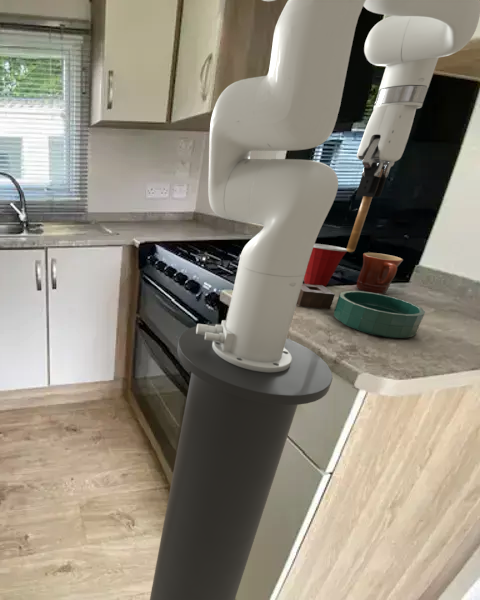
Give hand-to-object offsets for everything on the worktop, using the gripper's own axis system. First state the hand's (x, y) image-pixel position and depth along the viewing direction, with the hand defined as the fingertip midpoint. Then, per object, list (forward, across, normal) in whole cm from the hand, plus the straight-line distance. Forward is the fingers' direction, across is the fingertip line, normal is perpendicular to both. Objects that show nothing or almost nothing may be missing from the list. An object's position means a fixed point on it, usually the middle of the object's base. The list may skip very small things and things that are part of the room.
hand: (368, 195), depth 77 cm
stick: (+13, 0, 0) cm, 13 cm away
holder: (+27, 0, -5) cm, 28 cm away
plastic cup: (+27, -20, -13) cm, 36 cm away
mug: (+27, -27, -1) cm, 39 cm away
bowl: (+27, +1, +9) cm, 29 cm away
